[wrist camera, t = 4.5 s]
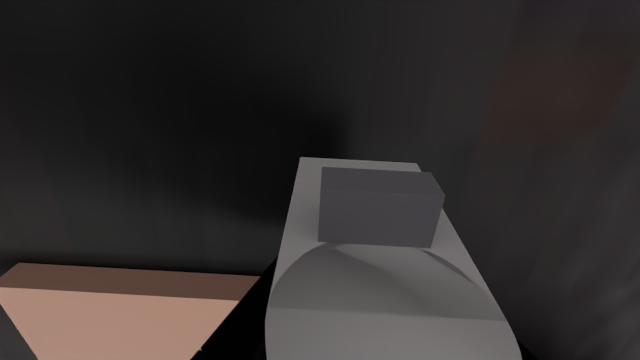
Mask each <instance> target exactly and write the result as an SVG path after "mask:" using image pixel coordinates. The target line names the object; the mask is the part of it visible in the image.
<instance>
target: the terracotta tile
mask: <svg viewBox="0 0 640 360" xmlns="http://www.w3.org/2000/svg"><path fill="white" fill-rule="evenodd" d="M259 278H260V276H244V275H227V274H209V273H191V272H174V271H156V270H138V269H121V268H103V267H86V266H68V265H50V264H33V263H18V264H16V265H15V266H14V267H12V268H11V269H10V270H9V271H7V272H6V273H5V274H4V275H2V276H1V277H0V304H1V306H2V307H3V308H4V310H5V311H6V313H7V314H8V316H9V317H10V319H11V320H12V322H13V323H14V324H15V326H16V327H17V329H18V330H19V332H20V333H21V335H22V336H23V338H24V339H25V341H26V342H27V343H28V345H29V346H30V348H31V349H32V351H33V352H34V354H35V355H36V357H37V358H38V359H39V360H190V359H191V358H192V357H193V356H194V354H195V353H196V352H197V351H198V350H201V346H202V345H203V344H204V343H205V342H206V340H207V339H208V338H209V337H210V336H211V334H212V333H213V332H214V331H215V330H216V329H217V327H218V326H219V325H220V324H221V323H222V321H223V320H224V319H225V318H226V317H227V316H228V314H229V313H230V312H231V311H232V310H233V308H234V307H235V306H236V305H237V304H238V302H239V301H240V300H241V299H242V298H243V297H244V295H245V294H246V293H247V292H248V291H249V289H250V288H251V287H252V286H253V285H254V283H255V282H256V281H257V280H258V279H259Z"/></svg>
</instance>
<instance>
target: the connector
mask: <svg viewBox="0 0 640 360" xmlns="http://www.w3.org/2000/svg"><path fill="white" fill-rule="evenodd" d="M444 199H445V194H444V193H443V191H442V190H441V188H440V187H439V185H438V183H437V182H436V180H435V179H434V177H433V175H432V174H431V173H429V172H421V171H420V169H419V167H418V165H417V164H416V163H401V162H383V161H364V160H346V159H327V158H309V157H300V161H299V166H298V170H297V175H296V179H295V184H294V188H293V193H292V197H291V202H290V206H289V211H288V215H287V220H286V224H285V229H284V233H283V238H282V242H281V247H280V251H279V256H278V260H277V265H276V269H275V274H274V278H273V283H272V287H271V292H270V296H269V301H268V305H267V311H266V318H265V341H266V356H267V360H522V357H521V352H520V349H519V346H518V344H517V341H516V338H515V336H514V334H513V332H512V330H511V328H510V326H509V324H508V322H507V320H506V318H505V316H504V315H503V313H502V311H501V309H500V308H499V306H498V304H497V303H496V301H495V299H494V297H493V296H492V294H491V292H490V290H489V289H488V287H487V285H486V283H485V282H484V280H483V278H482V276H481V275H480V273H479V271H478V270H477V268H476V266H475V264H474V263H473V261H472V259H471V257H470V256H469V254H468V252H467V250H466V249H465V247H464V245H463V243H462V242H461V240H460V238H459V237H458V235H457V233H456V231H455V230H454V228H453V226H452V224H451V223H450V221H449V219H448V217H447V216H446V214H445V212H444V210H443V209H442V206H443V203H444Z"/></svg>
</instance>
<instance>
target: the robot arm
mask: <svg viewBox="0 0 640 360" xmlns="http://www.w3.org/2000/svg"><path fill="white" fill-rule="evenodd" d="M278 256H279V255H278ZM278 256H277V257H276V259H275V260H274V261H273V262H272V263H271V264H270V266H269V267H268V268H267V269H266V270H265V272H264V273H263V274H262V275H261V276H260V278H259V279H258V280H257V281H256V282H255V283H254V285H253V286H252V287H251V288H250V289H249V291H248V292H247V293H246V294H245V295H244V297H243V298H242V299H241V300H240V301H239V302H238V304H237V305H236V306H235V307H234V308H233V310H232V311H231V312H230V313H229V314H228V316H227V317H226V318H225V319H224V320H223V321H222V323H221V324H220V325H219V326H218V327H217V329H216V330H215V331H214V332H213V333H212V334H211V336H210V337H209V338H208V339H207V340H206V342H205V343H204V344H203V345H202V346H201V350H198V351H197V352H196V353H195V354H194V356H193V357H192V358H191V359H190V360H267V356H266V341H265V318H266V311H267V305H268V301H269V296H270V292H271V287H272V283H273V278H274V274H275V269H276V265H277V260H278ZM516 341H517V344H518V346H519V349H520V352H521V357H522V360H539V359H538V358H537V357H536V356H535V355H534V354H532V353H531V352H530V351H529V350H528V349H527V348H526V347H525V346H524V345H523V344H522V343H521V342H520V341H519V340H517V339H516Z"/></svg>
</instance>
